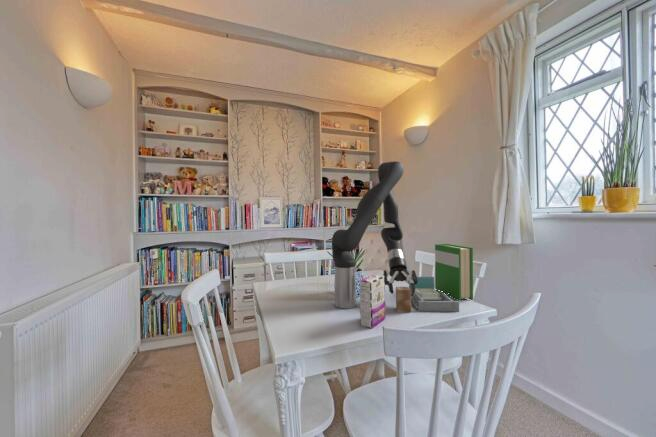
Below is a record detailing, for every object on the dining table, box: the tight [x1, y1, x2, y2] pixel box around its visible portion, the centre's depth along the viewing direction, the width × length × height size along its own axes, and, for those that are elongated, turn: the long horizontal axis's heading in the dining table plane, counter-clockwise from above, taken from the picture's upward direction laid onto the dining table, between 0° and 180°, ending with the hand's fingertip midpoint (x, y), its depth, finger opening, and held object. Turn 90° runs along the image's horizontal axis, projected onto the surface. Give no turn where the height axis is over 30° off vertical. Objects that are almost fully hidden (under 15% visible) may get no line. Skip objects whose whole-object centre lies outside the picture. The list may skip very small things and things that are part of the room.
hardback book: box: [434, 243, 474, 301], centre depth 129 cm, size 18×7×24 cm, turn 12°
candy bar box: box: [359, 274, 386, 329], centre depth 97 cm, size 11×5×16 cm, turn 143°
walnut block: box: [395, 286, 412, 313], centre depth 109 cm, size 5×5×9 cm
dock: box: [411, 291, 460, 312], centre depth 115 cm, size 16×17×4 cm
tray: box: [408, 276, 442, 300], centre depth 124 cm, size 12×15×7 cm
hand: (402, 292), depth 110 cm, fingers open, 8 cm apart
